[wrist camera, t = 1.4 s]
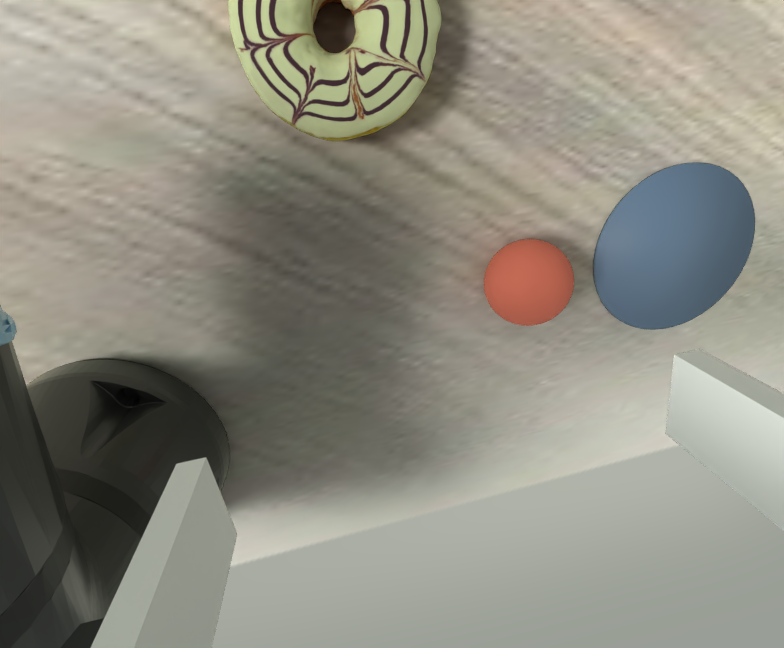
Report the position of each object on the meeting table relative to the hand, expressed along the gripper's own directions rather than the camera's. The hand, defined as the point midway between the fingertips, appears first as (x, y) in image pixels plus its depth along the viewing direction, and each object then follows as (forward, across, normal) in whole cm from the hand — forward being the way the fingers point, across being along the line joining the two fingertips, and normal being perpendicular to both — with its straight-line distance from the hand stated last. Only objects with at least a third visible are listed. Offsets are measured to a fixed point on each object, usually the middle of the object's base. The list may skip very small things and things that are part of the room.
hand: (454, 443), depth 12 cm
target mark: (+18, +21, -2) cm, 28 cm away
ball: (+16, +9, -2) cm, 18 cm away
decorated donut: (+19, 0, +14) cm, 24 cm away
